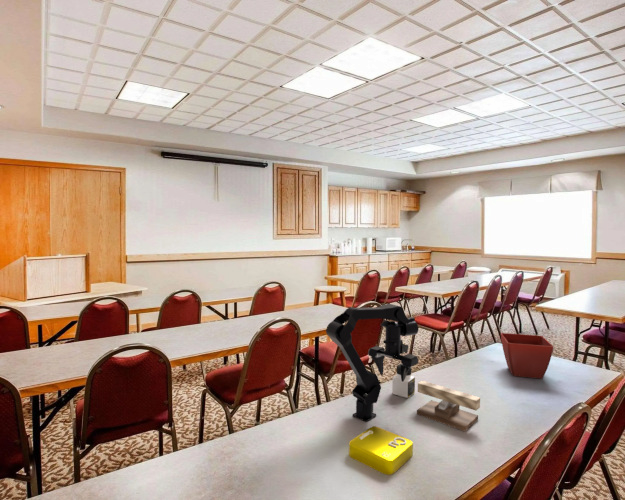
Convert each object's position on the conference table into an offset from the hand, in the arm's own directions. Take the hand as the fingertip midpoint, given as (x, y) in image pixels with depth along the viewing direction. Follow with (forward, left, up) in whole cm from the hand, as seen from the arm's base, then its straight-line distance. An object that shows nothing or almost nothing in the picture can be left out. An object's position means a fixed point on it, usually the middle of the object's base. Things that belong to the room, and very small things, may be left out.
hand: (392, 378), depth 146 cm
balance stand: (+9, -18, -12) cm, 23 cm away
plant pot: (+79, -26, -12) cm, 84 cm away
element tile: (-29, -14, -13) cm, 34 cm away
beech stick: (+9, -18, -6) cm, 21 cm away
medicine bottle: (+16, +4, -12) cm, 21 cm away
